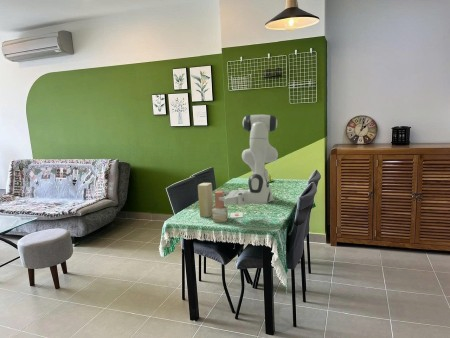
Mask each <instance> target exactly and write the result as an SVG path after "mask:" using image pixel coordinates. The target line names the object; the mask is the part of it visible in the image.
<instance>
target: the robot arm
mask: <svg viewBox="0 0 450 338" xmlns="http://www.w3.org/2000/svg"><path fill="white" fill-rule="evenodd" d="M242 127H243V130H244V131H246V132H248V133H249V148H246V149H244V150H243V151H242V153H241V159H242V161H243V162H244V163H245V164H246V165H248V167H249V168H250V171H251V172H252V173H251V174H252V175H250V176H249V178H248V183H247V185H248V189H231V191H229V192H223V194H224V197H219V200H222V201H224V205H229V206H239V207H241V206H243V205H267V204H268V203H271V202H274V201H275V198H274V196H273V192H272V189H271V188H270V181H269V171H268V169H266V163H273V162H275V161H277V160H278V157H279V153H278V150H277V148H276V147H273V146H272V145H271V144H270V142H269V141H270V140H269V133H270V132H271V133H272V132H274V131H276V129H277V127H278V119H277V117H276V115H274V114H273V115H272V114H264V113H263V114H247V115H245V116H244V117H243V119H242Z"/></svg>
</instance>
